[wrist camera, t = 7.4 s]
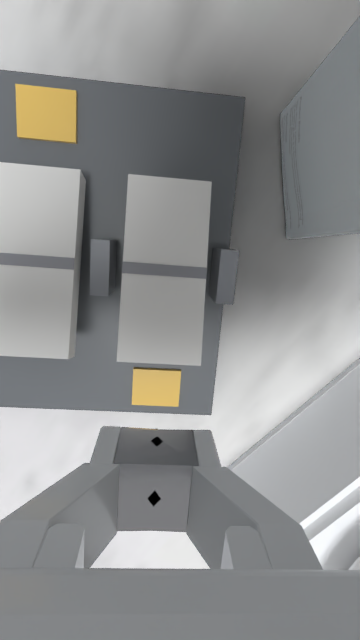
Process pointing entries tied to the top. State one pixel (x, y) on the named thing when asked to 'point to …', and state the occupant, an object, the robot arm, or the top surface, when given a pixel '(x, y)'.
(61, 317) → the rocker
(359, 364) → the white domed box
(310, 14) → the top surface
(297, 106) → the skincare box
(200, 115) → the switch unit
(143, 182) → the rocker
